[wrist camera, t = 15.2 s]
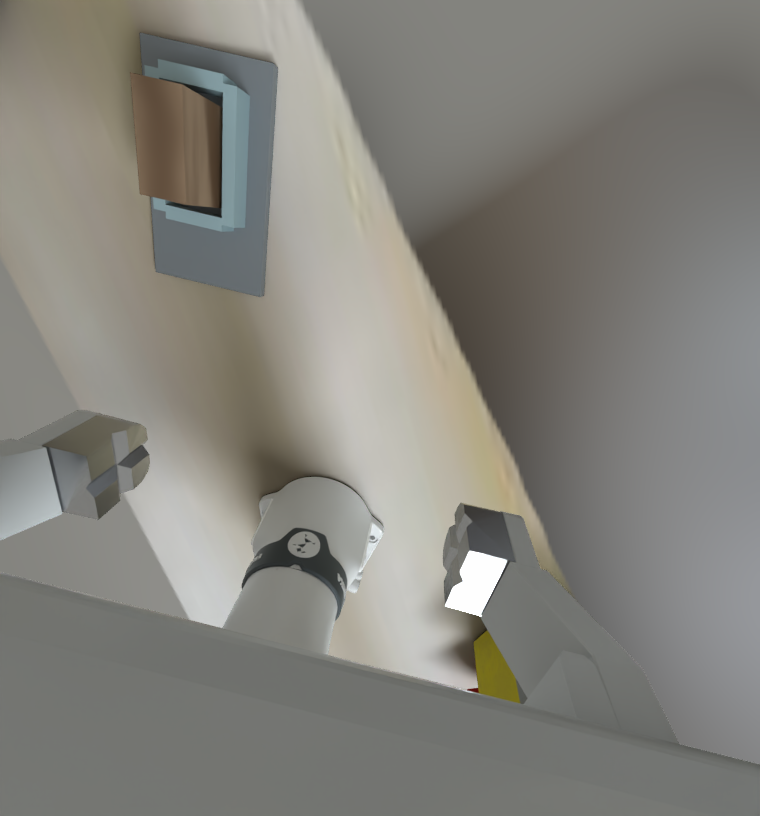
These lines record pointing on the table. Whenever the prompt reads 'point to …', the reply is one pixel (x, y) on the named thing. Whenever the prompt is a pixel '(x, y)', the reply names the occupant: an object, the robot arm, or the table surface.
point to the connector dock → (241, 169)
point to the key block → (177, 142)
